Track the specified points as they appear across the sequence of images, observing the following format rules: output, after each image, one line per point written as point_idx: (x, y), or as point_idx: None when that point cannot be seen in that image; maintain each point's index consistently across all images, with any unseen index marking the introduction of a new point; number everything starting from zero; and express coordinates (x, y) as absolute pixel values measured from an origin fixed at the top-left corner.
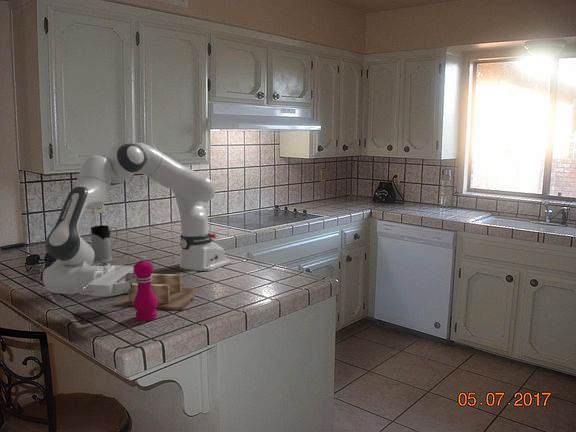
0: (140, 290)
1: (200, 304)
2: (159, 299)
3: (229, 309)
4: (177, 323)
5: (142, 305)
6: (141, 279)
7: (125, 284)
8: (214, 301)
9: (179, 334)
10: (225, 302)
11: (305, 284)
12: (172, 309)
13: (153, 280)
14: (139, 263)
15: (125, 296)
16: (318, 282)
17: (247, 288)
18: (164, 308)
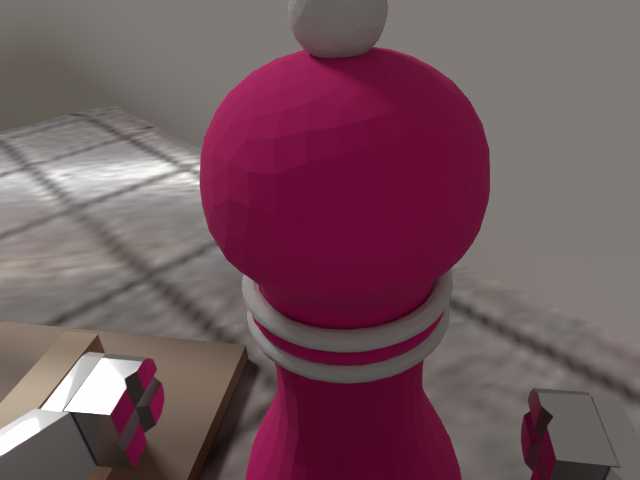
0: (419, 403)
1: (176, 304)
2: (88, 476)
3: None
4: (440, 350)
5: (459, 471)
6: (451, 274)
7: (636, 456)
8: (157, 267)
9: (577, 320)
10: (186, 239)
11: (106, 129)
12: (227, 404)
13: None
14: (425, 75)
15: None
16: (105, 118)
17: (51, 206)
18: (205, 448)
